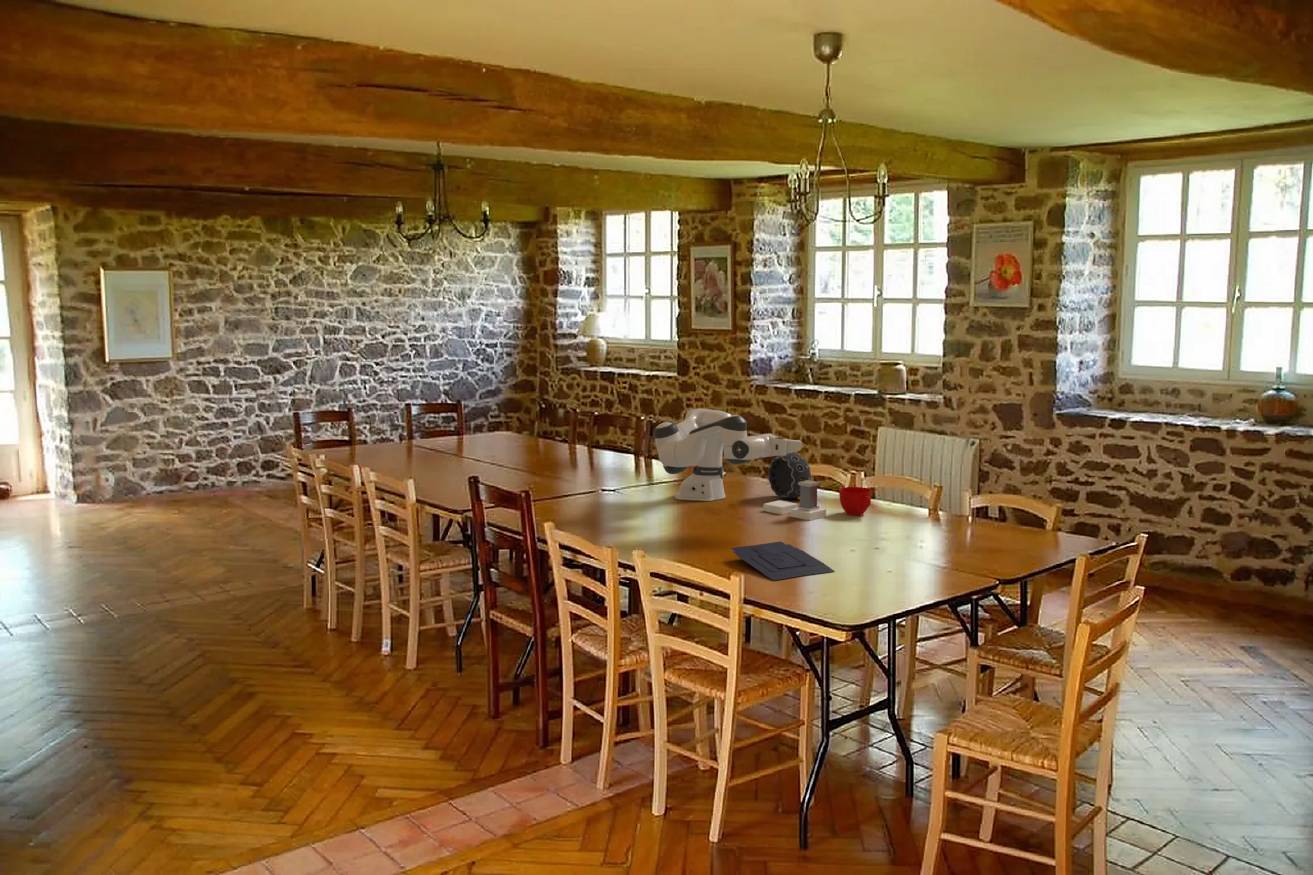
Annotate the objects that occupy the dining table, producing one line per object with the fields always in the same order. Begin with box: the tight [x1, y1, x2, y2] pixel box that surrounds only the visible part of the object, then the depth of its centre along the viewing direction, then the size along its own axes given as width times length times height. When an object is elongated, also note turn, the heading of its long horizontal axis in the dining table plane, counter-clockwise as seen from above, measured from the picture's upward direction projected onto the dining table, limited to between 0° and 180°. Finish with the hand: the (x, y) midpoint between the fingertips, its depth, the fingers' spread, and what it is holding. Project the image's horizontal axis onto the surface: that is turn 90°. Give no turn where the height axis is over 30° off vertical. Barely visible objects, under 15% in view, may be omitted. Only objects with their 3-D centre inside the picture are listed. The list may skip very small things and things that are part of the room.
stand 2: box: [790, 507, 827, 521], centre depth 424 cm, size 10×10×3 cm
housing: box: [798, 480, 820, 512], centre depth 423 cm, size 6×6×11 cm
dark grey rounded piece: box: [767, 452, 812, 500], centre depth 459 cm, size 11×20×20 cm, turn 31°
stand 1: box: [763, 500, 799, 515], centre depth 435 cm, size 10×10×3 cm
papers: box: [730, 541, 835, 581], centre depth 351 cm, size 24×30×4 cm
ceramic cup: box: [838, 486, 872, 517], centre depth 426 cm, size 13×17×10 cm
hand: (790, 441), depth 411 cm, fingers open, 8 cm apart
